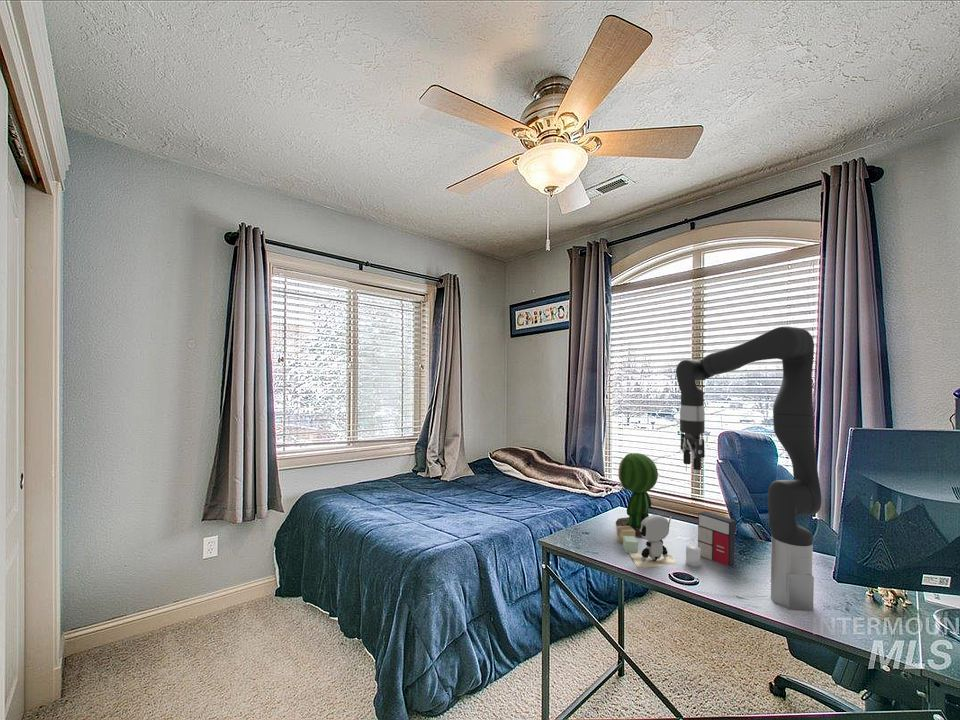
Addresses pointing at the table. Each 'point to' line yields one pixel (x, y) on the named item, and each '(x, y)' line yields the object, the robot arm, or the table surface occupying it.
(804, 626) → the table surface
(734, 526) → the grey red panel box
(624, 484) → the figurine
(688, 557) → the white upright block
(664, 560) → the birch pad
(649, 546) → the robot toy
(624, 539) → the sage brick
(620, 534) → the oak cube
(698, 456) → the robot arm
